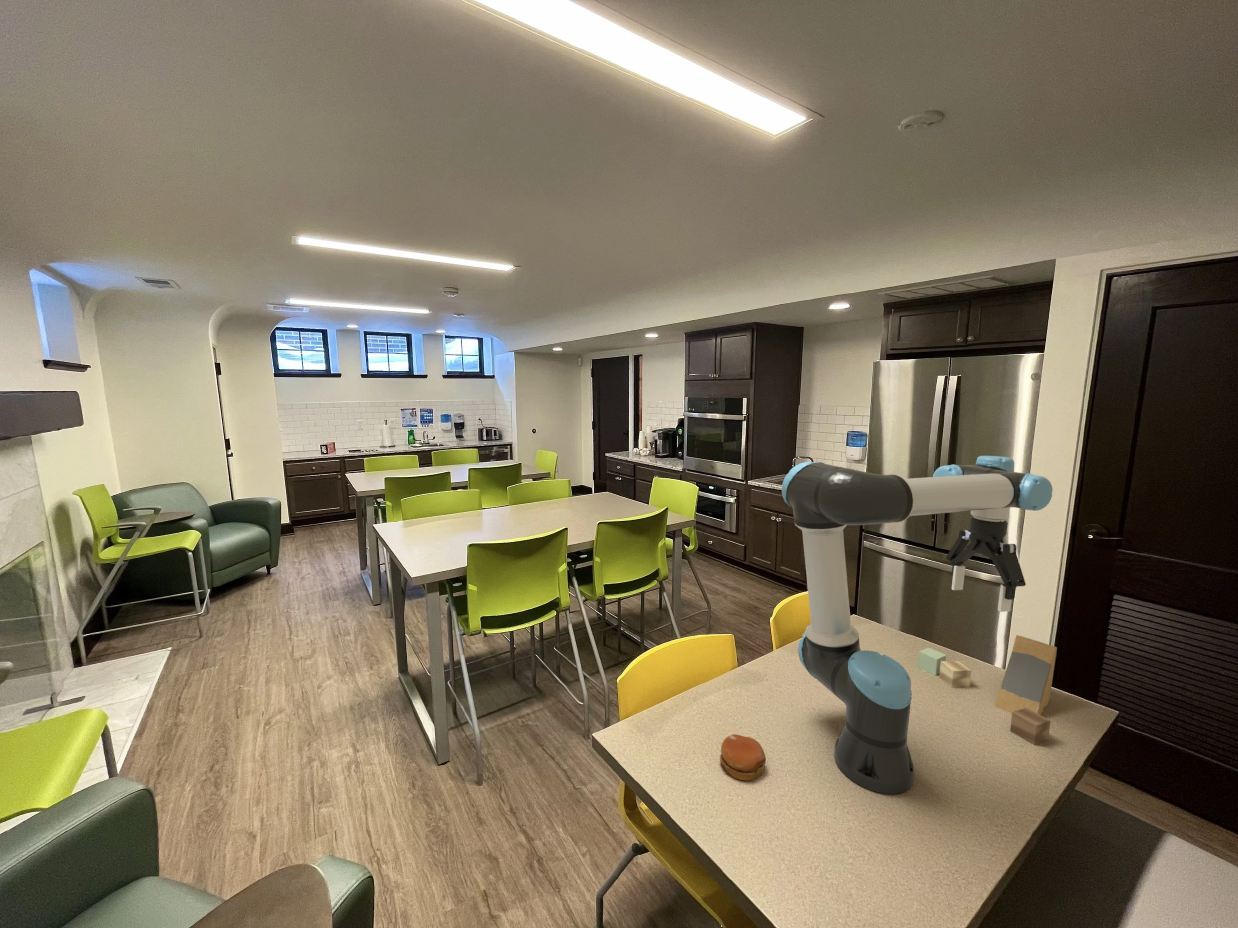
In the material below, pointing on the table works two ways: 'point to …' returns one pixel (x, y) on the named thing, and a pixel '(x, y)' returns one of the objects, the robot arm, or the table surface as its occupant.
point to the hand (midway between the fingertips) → (979, 599)
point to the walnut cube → (1030, 726)
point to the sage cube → (930, 660)
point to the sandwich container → (1027, 676)
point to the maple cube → (955, 674)
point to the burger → (742, 757)
